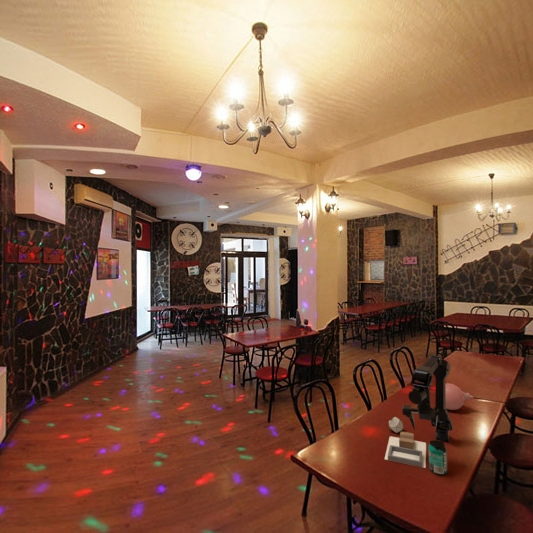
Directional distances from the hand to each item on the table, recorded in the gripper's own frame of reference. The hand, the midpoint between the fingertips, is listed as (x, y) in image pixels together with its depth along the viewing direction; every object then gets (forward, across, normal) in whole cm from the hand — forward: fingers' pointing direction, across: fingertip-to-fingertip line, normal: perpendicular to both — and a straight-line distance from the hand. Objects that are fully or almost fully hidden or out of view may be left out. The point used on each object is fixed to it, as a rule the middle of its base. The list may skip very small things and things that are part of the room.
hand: (425, 430), depth 151 cm
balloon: (+14, +17, +63) cm, 67 cm away
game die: (+13, -14, +21) cm, 28 cm away
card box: (+12, -9, +8) cm, 17 cm away
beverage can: (+13, +4, -10) cm, 16 cm away
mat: (+12, -9, +2) cm, 15 cm away
